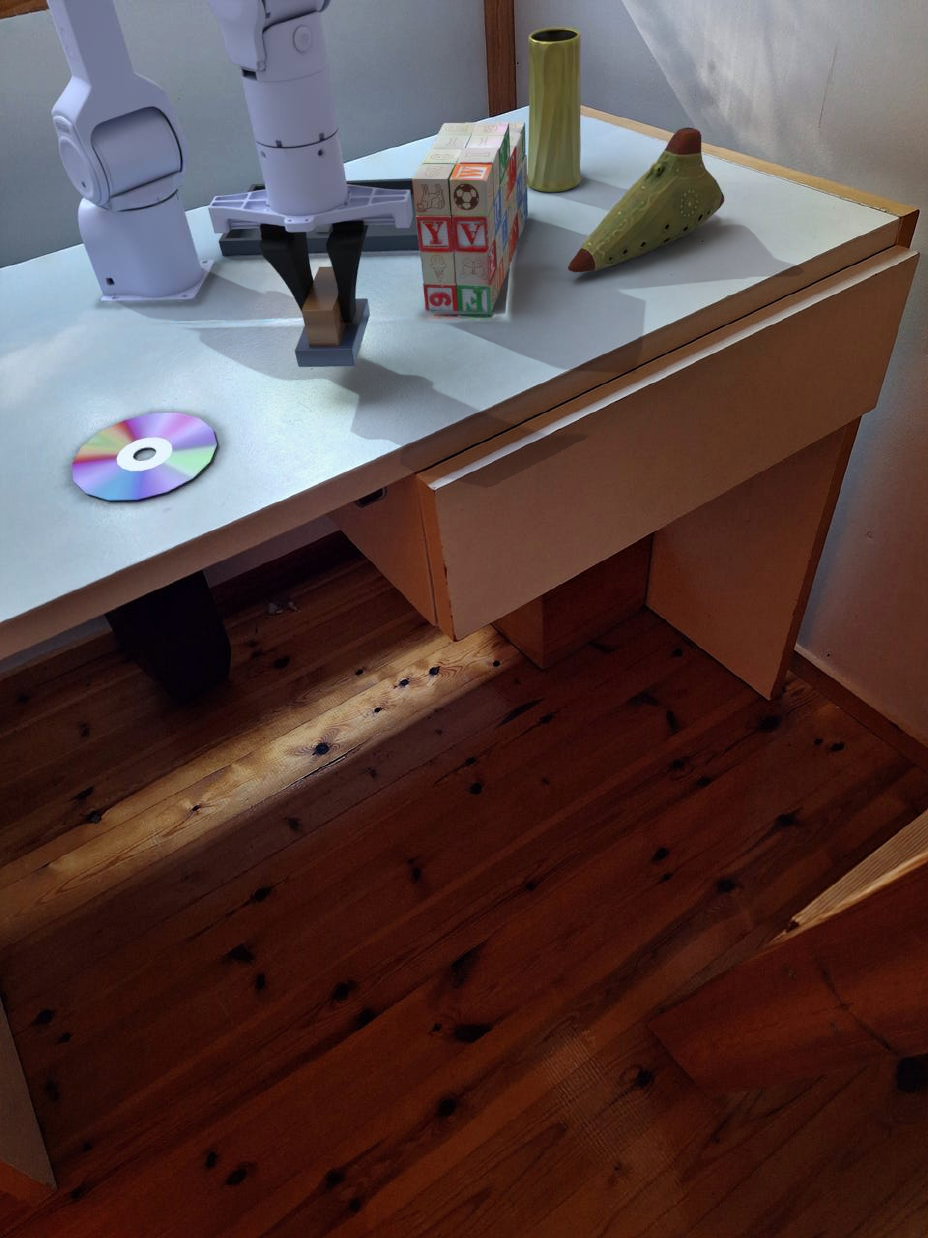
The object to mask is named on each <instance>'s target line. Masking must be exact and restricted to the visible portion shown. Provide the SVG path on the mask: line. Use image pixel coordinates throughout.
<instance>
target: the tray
mask: <svg viewBox="0 0 928 1238" xmlns="http://www.w3.org/2000/svg"><path fill="white" fill-rule="evenodd" d="M412 179H413V177H410V178H409V177H408V178H380V179H379V178H378V179H354V180H351V179H350V180H346V182H347V184H350V185H358V186H365V187H373V188H381V189H391V190H410V193H411V202H412V212H413V218H412V222H411V225H410V227H409V228H396V227H395V224H388V225H369V226H368V229H367V233H366V236H365V240H364V244H363V248H362V252H361V253H365V252H366V253H368V252H369V253H370V252H371V253H372V252H399V251H400V252H403V251H405V252H407V251H408V252H409V251H420V250H419V242H418V234H417V223H416V209H415V201H414V191H413V182H412ZM265 189H266V188H265V184H264V183H252V184H251V185H250V187H249V189H248V190H247V192H246V193H248V192H253V191H259V190H265ZM332 229H333V228H332V226H331V227H330V230H329V232H318V233H316V231H315V229H314V230H312V231H309V232H306V235H307V245H308V253H309V254H328V252H327V249H326V242H327V240H328V237H329V235H330V232H332ZM221 234H222V235H221V236H220V237H219V239H218V245H219V248H220V252H221V255H222V256H223V257H230V256H232V257H233V256H237V257H238V256H262V254H261V251H260V248H259V243H260V241H261V240H262V239H261V231H260V228H251V229H230V231H229V232H228V233H221Z"/></svg>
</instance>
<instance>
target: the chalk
mask: <svg viewBox="0 0 928 1238" xmlns="http://www.w3.org/2000/svg"><path fill="white" fill-rule="evenodd" d="M330 227H331V226H320V227H315V231H316V233H318V232H329V230H330Z"/></svg>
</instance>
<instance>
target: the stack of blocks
mask: <svg viewBox="0 0 928 1238" xmlns="http://www.w3.org/2000/svg"><path fill="white" fill-rule="evenodd" d="M526 149H527V148H526V122H525V121H495V122H493V121H492V122H485V121H483V122H482V121H481V122H480V121H479V122H475V121H473V122H444V123H443V124H442V125H441V127H440V130H439V131H438V133H437V134H436V137H435V139H434V142H433V143H432V145H431V148H430V149H429V150H428V151H427V152H426V155H425V156H424V158H423V160H422V162H421V164H419V166H418V168H417V169H416V171H415V172H414V175H413V176H412V178H413V179H412V182H413V191H414V201H415V209H416V223H417V234H418V242H419V250H418V251H419V257H420V264H421V272H422V273H421V275H422V289H423V290H422V291H423V299H424V309H425V311H430V310H432V311H433V310H435V311H452V312H465V311H467V312H485V313H449V314H448V313H446V314H443V313H442V314H435V316H438V317H467V318H468V317H470V318H490V319H491V318H492V317H493V315H494V313H493V309H494V307H495V304H496V301H497V299H498V297H499V295H500V290H501V288H502V284H503V283H504V282H505V280H506V276H507V274H508V272H509V271H510V267H511V263H512V260H513V257H514V253H515V250H516V248H517V245H518V241H520V239H521V236H522V233H523V231H524V228H525V224H526V222H527V218H528V215H529V205H528V199H529V198H528V197H529V196H528V184H527V176H528V154H526Z"/></svg>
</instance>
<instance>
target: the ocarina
mask: <svg viewBox="0 0 928 1238" xmlns="http://www.w3.org/2000/svg"><path fill="white" fill-rule="evenodd" d="M724 203H725V194H724V192H723V191H722V189H721V187H720V185H719V182H718V181H717V179H716V178H715V177H714V176H713V175H712V174H711V173H710V172H709V171H708V169H707V168H706V166H705V163H704V160H703V154H702V134H701V131H700V130H698V129H697V128H694V127H689V126H688V127H683V128H680V129H677V130H676V132H675V133H674V134H673V135H672V136H671V138H670V139H669V141H668V143H667V145H666V147H665V148H664V149H663V151H662V153H661V154H660V155H659V157H658V159H657V160H656V162H654V163H652V165H651V166H650V167H649V169H648V170H647V171H646V172H644V174H642V175H641V176H640V177H639V178H638V179H637V180H636V182H635V183H634V184H633V185H632V186H630V188H629V189H628V190H627V192H626V193H625V194H624V195H623V196H622V197H621V198H620V199H619V200H618V201H617V203H615V205H614V206H613V207H612V208H611V210H610V211H609V212H608V213H607V214H606V215H605V216H604V217H603V219H602V220H601V222H600V223H599V224H598V226H597V227H596V228H595V229H594V230H593V231H592V232H591V234H589V236H588V237H587V238H586V239H585V240H584V242H583V243H582V245H581V246H580V248H579V250H578V251H577V253H576V254H575V256H574V257H573V258H572V259H571V261H570V262H569V264H568V265H567V271H569V272H572V273H587V272H588V273H589V272H595V271H599V270H600V271H601V270H603V269H606V268H609V267H612V266H615V265H618V264H621V263H624V262H626V261H629V260H631V259H634V258H637V257H639V256H642V255H644V254H646V253H649V252H651V251H654V250H656V249H658V248H660V247H662V246H664V245H666V244H669V243H671V242H673V241H675V240H678V239H679V238H681V237H684V236H686V235H688V234H690V233H691V232H692V231H694V230H695V229H697V228H698V227H700V226H701V225H703V224H704V223H705V222H707V221H708V220H709V219H710V218H712V216H714V214H716V212H717V211H719V209H721V207H722V206H723V204H724Z"/></svg>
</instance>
